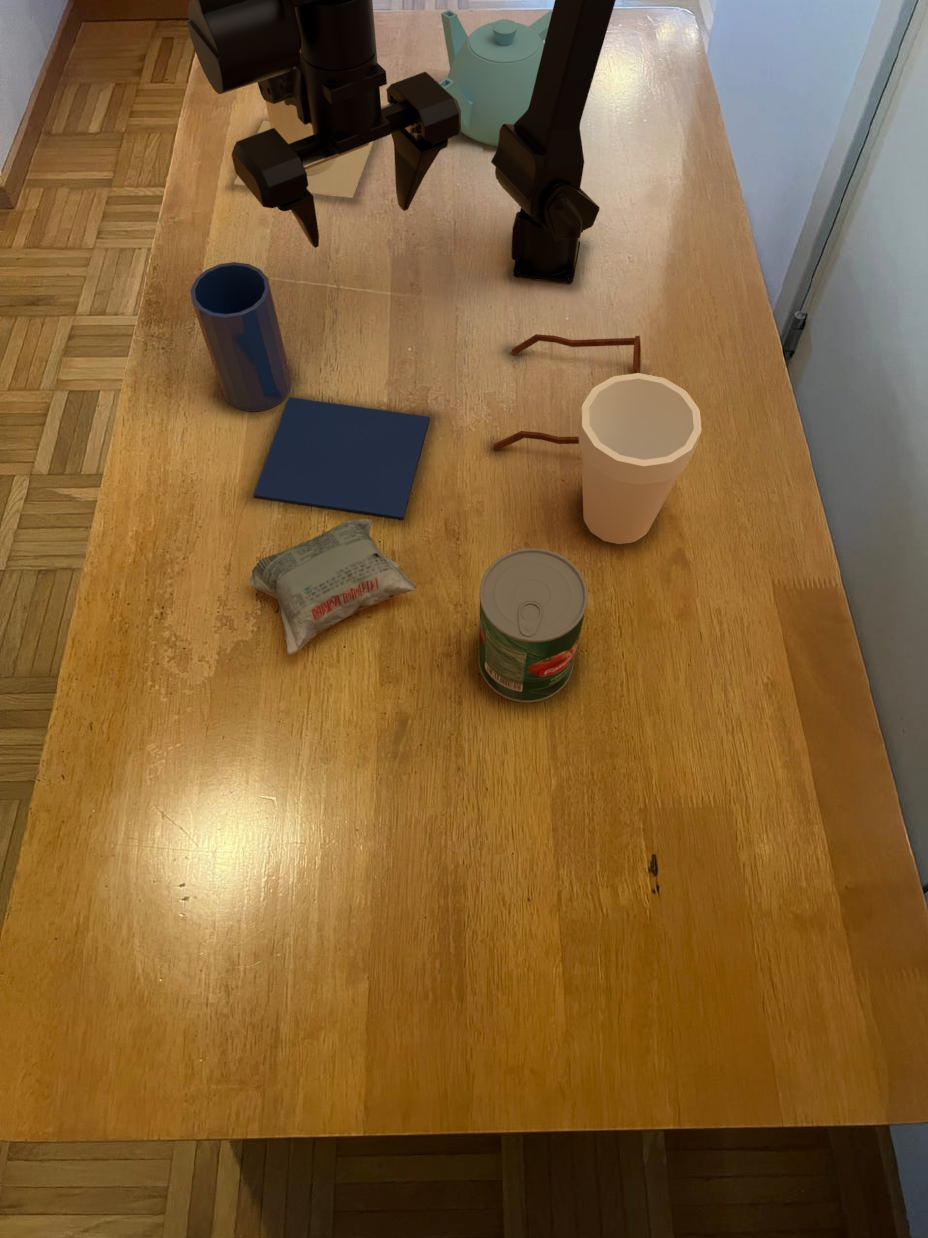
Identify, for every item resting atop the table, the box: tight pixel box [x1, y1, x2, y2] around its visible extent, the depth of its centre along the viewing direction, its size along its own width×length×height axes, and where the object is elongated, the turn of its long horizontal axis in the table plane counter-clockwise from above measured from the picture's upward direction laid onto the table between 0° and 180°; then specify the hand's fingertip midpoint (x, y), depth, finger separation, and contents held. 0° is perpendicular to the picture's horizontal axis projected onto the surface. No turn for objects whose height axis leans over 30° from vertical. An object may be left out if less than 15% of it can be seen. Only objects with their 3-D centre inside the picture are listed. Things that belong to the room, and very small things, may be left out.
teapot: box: [438, 9, 553, 147], centre depth 108 cm, size 15×15×11 cm
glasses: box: [493, 333, 642, 451], centre depth 88 cm, size 13×13×5 cm
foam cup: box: [578, 372, 703, 545], centre depth 78 cm, size 10×9×13 cm
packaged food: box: [249, 518, 417, 656], centre depth 78 cm, size 9×12×5 cm
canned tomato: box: [477, 547, 589, 704], centre depth 72 cm, size 8×8×11 cm
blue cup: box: [190, 261, 293, 413], centre depth 87 cm, size 7×7×12 cm
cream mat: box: [233, 120, 375, 199], centre depth 109 cm, size 14×12×1 cm
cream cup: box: [265, 50, 335, 176], centre depth 104 cm, size 7×7×11 cm
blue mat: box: [253, 396, 431, 520], centre depth 87 cm, size 14×12×1 cm
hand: (359, 225), depth 84 cm, fingers open, 9 cm apart
